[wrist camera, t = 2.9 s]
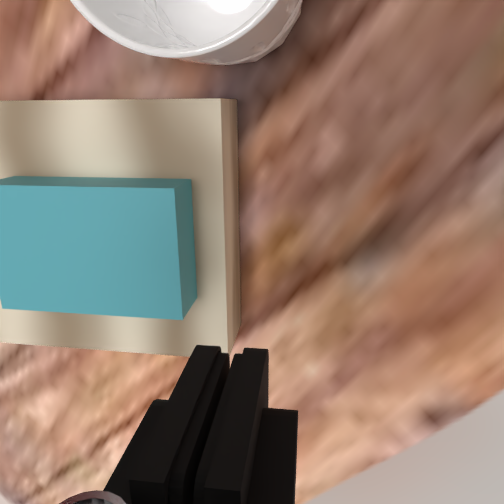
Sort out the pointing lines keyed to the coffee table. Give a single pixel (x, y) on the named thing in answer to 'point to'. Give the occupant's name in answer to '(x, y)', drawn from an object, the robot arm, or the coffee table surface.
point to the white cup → (195, 27)
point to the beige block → (138, 166)
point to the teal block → (97, 246)
